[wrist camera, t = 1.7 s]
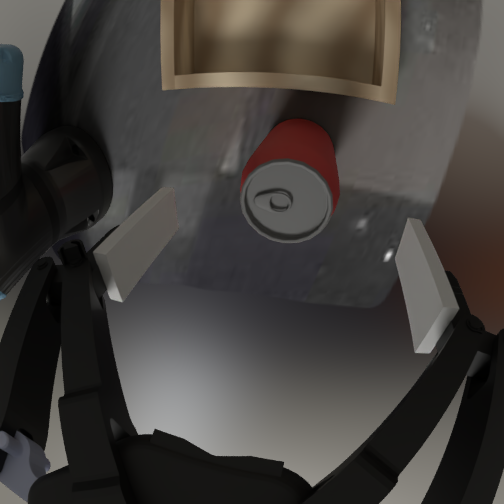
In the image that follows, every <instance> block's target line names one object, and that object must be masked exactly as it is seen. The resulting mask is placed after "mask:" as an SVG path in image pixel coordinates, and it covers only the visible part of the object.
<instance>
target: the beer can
mask: <svg viewBox="0 0 504 504" xmlns="http://www.w3.org/2000/svg"><path fill="white" fill-rule="evenodd" d="M240 191H241V196H240V202H241V207H242V212H243V214H244V216H245V218H246V219H247V221H248V223H249V224H250V225H251V226H252V227H253V228H254V229H255V230H256V231H257V232H258V233H259V234H261V235H263V236H265V237H266V238H268V239H270V240H273V241H278V242H282V243H299V242H302V241H305V240H308V239H311V238H312V237H314V236H315V235H317V234H318V233H320V232H321V231H322V230H323V229H324V227H325V226H326V225H327V223H328V222H329V220H330V217H331V215H332V214H333V213H334V211H335V208H336V205H337V202H338V199H339V196H340V190H339V177H338V170H337V164H336V158H335V152H334V147H333V144H332V141H331V139H330V137H329V135H328V134H327V133H326V131H325V130H324V129H323V128H322V127H321V126H319V125H317V124H316V123H314V122H312V121H309V120H305V119H301V118H300V119H289V120H286V121H284V122H282V123H279V124H278V125H277V126H276V127H275V128H273V129H272V130H271V131H270V133H269V134H268V135H267V136H266V138H265V139H264V140H263V142H262V143H261V144H260V145H259V147H258V148H257V149H256V151H255V152H254V153H253V155H252V156H251V157H250V159H249V160H248V162H247V164H246V166H245V168H244V170H243V172H242V179H241V187H240Z"/></svg>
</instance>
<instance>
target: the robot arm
mask: <svg viewBox="0 0 504 504" xmlns="http://www.w3.org/2000/svg"><path fill="white" fill-rule="evenodd" d="M23 62H24V61H23V54H22V52H21V51H20V49H19V48H18V47H16V46H14V45H9V44H8V45H7V44H0V300H1V299H2V298H5V297H6V296H7V294H8V293H9V291H10V290H11V289H12V288H13V287H14V286H15V284H16V283H17V282H18V281H19V280H20V279H21V278H22V277H23V275H24V274H25V273H26V272H27V271H28V270H29V269H30V268H31V267H32V268H31V270H30V272H29V274H28V276H27V278H26V280H25V283H24V285H23V287H22V289H21V291H20V294H19V296H18V298H17V300H16V303H15V305H14V308H13V310H12V313H11V315H10V317H9V320H8V323H7V325H6V328H5V331H4V334H3V337H2V339H1V342H0V481H1V482H2V483H3V484H4V485H6V486H7V487H8V488H9V489H10V490H12V491H13V492H14V493H16V494H17V495H18V496H19V497H21V498H22V499H23V500H25V501H26V502H28V504H379V503H380V502H381V501H382V500H383V499H384V498H385V497H386V496H387V495H388V493H389V492H390V491H391V490H392V489H393V487H394V486H395V485H396V483H397V482H398V476H399V474H400V473H401V472H402V471H403V469H404V468H405V467H406V466H407V465H408V463H409V462H410V461H411V459H412V458H413V457H414V456H415V454H416V453H417V452H418V450H419V449H420V448H421V447H422V445H423V444H424V442H425V441H426V439H427V438H428V437H429V435H430V434H431V433H432V431H433V430H434V428H435V427H436V425H437V423H438V422H439V421H440V419H441V418H442V416H443V414H444V413H445V411H446V410H447V408H448V406H449V405H450V403H451V401H452V399H453V398H454V396H455V394H456V392H457V391H458V389H459V387H460V385H461V383H462V382H463V380H464V378H465V376H466V375H467V380H466V384H465V389H464V392H463V396H462V400H461V404H460V407H459V411H458V414H457V418H456V421H455V424H454V427H453V430H452V433H451V436H450V439H449V442H448V445H447V447H446V450H445V453H444V455H443V458H442V460H441V462H440V465H439V467H438V470H437V472H436V474H435V476H434V479H433V481H432V483H431V485H430V487H429V490H428V491H427V493H426V495H425V498H424V499H423V501H422V503H421V504H492V503H493V500H494V497H495V494H496V491H497V488H498V486H499V482H500V479H501V476H502V472H503V469H504V329H502V330H500V332H499V333H498V334H497V335H494V334H492V333H489V332H487V331H485V327H484V325H483V323H482V321H481V320H480V319H479V318H477V317H476V316H474V315H471V313H470V310H469V308H468V305H467V303H466V300H465V298H464V295H462V294H463V293H462V290H461V288H460V286H459V283H458V281H457V279H456V278H455V276H454V275H453V274H452V273H451V272H450V271H444V269H443V266H442V264H441V262H440V260H439V258H438V255H437V253H436V251H435V249H434V247H433V245H432V242H431V240H430V238H429V236H428V234H427V232H426V230H425V228H424V226H423V224H422V222H421V220H418V219H413V218H408V220H407V223H406V226H405V230H404V233H403V236H402V239H401V242H400V245H399V248H398V251H397V254H396V257H395V262H396V265H397V269H398V273H399V277H400V281H401V285H402V289H403V293H404V298H405V302H406V307H407V311H408V317H409V322H410V327H411V332H412V338H413V344H414V350H415V352H416V353H430V352H431V351H432V349H433V348H434V347H435V345H436V347H437V354H436V355H435V356H434V358H433V359H432V360H431V361H430V363H429V364H428V365H427V368H426V369H425V371H424V372H423V373H422V375H421V376H420V377H419V379H418V380H417V382H416V383H415V384H414V385H413V387H412V388H411V389H410V391H409V392H408V393H407V394H406V396H405V397H404V398H403V399H402V400H401V402H400V403H399V404H398V405H397V407H396V408H395V409H394V410H393V411H392V412H391V414H390V415H389V416H388V417H387V418H386V419H385V420H384V421H383V423H382V424H381V425H380V426H379V427H378V428H377V429H376V430H375V431H374V432H373V433H372V434H371V435H370V437H369V438H368V439H367V440H366V441H365V442H364V443H363V444H362V445H361V446H360V447H359V448H358V449H357V450H355V451H354V452H353V453H352V454H351V455H350V456H349V457H348V458H347V459H346V460H345V461H344V462H343V463H342V464H341V465H339V467H337V468H336V469H335V470H333V471H332V472H331V473H330V474H328V475H327V476H326V477H325V478H324V479H322V480H321V481H320V482H319V483H317V484H316V485H315V486H314V487H311V486H310V484H309V483H308V482H307V481H306V480H305V479H303V478H302V477H300V476H299V475H298V474H296V473H295V472H292V471H291V470H289V469H286V468H284V467H283V465H284V462H282V461H275V460H269V459H263V458H258V457H253V456H214V455H211V454H209V453H208V452H206V451H204V450H202V449H200V448H199V447H197V446H195V445H194V444H192V443H190V442H188V441H187V440H185V439H183V438H180V437H177V436H174V435H171V434H168V433H165V432H162V431H160V430H157V429H155V430H154V433H153V435H152V434H143V435H138V433H137V431H136V429H135V427H134V425H133V423H132V421H131V419H130V416H129V413H128V410H127V406H126V402H125V399H124V395H123V391H122V387H121V383H120V379H119V375H118V371H117V366H116V362H115V358H114V353H113V347H112V342H111V337H110V331H109V325H108V319H107V313H106V305H105V300H104V297H103V294H104V292H105V291H106V290H107V292H108V294H109V297H110V299H113V300H116V301H120V302H123V301H124V300H125V299H126V297H127V296H128V294H129V293H130V292H131V290H132V289H133V288H134V286H135V285H136V283H137V282H138V281H139V279H140V278H141V277H142V275H143V274H144V273H145V271H146V270H147V269H148V267H149V266H150V265H151V263H152V262H153V261H154V260H155V258H156V257H157V256H158V254H159V253H160V252H161V251H162V249H163V248H164V247H165V245H166V244H167V243H168V242H169V240H170V239H171V238H172V237H173V235H174V234H175V233H176V232H177V230H178V229H179V225H178V218H177V210H176V202H175V194H174V188H168V187H162V188H161V189H160V190H158V191H157V192H156V193H155V194H154V195H153V196H152V197H150V198H149V199H148V200H147V201H146V202H145V203H144V204H143V205H141V206H140V207H139V208H138V209H137V210H136V211H135V212H134V213H133V214H132V215H130V216H129V217H128V218H127V219H126V220H125V221H124V222H123V223H122V224H121V225H118V226H116V227H114V228H113V229H111V230H110V231H109V232H108V233H106V234H105V236H104V237H102V238H101V239H100V241H98V242H97V243H96V244H95V245H94V246H93V247H92V248H91V249H90V250H89V251H88V252H87V253H86V251H85V248H84V245H83V242H82V241H81V240H77V239H75V240H70V241H68V242H66V243H64V244H63V245H62V246H61V247H60V248H59V249H58V254H59V257H60V259H61V261H62V264H63V265H55V263H54V261H53V259H52V258H51V257H44V258H41V257H42V256H43V255H44V254H45V253H46V251H48V249H49V248H50V247H52V246H53V245H54V244H55V243H56V242H57V241H58V240H60V239H63V238H66V237H68V236H71V235H73V234H76V233H79V232H81V231H84V230H87V229H89V228H91V227H92V226H94V225H95V224H96V223H97V222H98V221H99V220H100V219H101V218H103V217H104V215H105V214H106V213H107V211H108V209H109V207H110V203H111V199H112V180H111V175H110V171H109V167H108V164H107V162H106V159H105V157H104V155H103V153H102V151H101V150H100V148H99V147H98V145H97V144H96V142H95V141H94V140H93V139H92V138H91V137H90V136H89V135H88V134H87V133H85V132H84V131H82V130H81V129H79V128H76V127H73V126H60V127H58V128H55V129H53V130H51V131H48V132H47V133H45V134H44V135H42V136H41V137H40V138H39V139H38V140H37V141H36V142H35V143H34V144H33V145H32V146H31V147H30V148H29V149H28V150H27V152H26V153H25V154H24V155H23V156H22V157H21V147H20V113H21V99H22V98H23V93H24V92H23V90H22V75H23ZM40 258H41V259H40ZM46 300H47V303H46ZM60 347H61V351H62V369H63V381H64V391H65V394H64V396H63V397H60V398H59V400H58V407H59V415H60V422H61V429H62V434H63V440H64V445H65V451H66V455H67V460H68V464H69V465H67V466H65V467H63V468H61V469H58V470H56V471H53V472H51V473H48V474H46V472H47V471H48V470H49V469H50V462H49V460H48V459H47V458H46V456H45V453H44V450H45V447H46V441H47V437H48V428H49V419H50V409H51V401H52V393H53V386H54V379H55V373H56V368H57V362H58V357H59V352H60Z"/></svg>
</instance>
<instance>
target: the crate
mask: <svg viewBox="0 0 504 504" xmlns="http://www.w3.org/2000/svg"><path fill="white" fill-rule="evenodd" d="M400 35H401V0H161V72H162V90H172V89H185V88H202V87H267V88H285V89H298V90H308V91H318V92H326V93H334V94H341V95H347V96H353V97H359V98H365V99H370V100H375V101H380V102H385V103H389V104H394V105H395V100H396V91H397V81H398V70H399V56H400Z"/></svg>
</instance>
